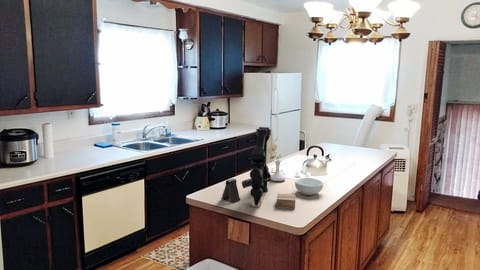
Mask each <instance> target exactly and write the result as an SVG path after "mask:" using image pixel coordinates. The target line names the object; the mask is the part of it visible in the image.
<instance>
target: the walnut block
mask: <svg viewBox="0 0 480 270" xmlns="http://www.w3.org/2000/svg"><path fill="white" fill-rule="evenodd" d="M276 195H277V196H276V205H275V206H276V208H278V209H279V208H280V209H291V210H295V209H296V194H294V193H293V194H292V193H290V194H289V193H279V192H278V193H277V194H276Z"/></svg>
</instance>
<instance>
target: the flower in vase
mask: <svg viewBox="0 0 480 270" xmlns="http://www.w3.org/2000/svg"><path fill="white" fill-rule="evenodd" d="M277 149H278V145H277V144H275V143H274V144H272V145H270V146H269V147H268V148H267V154H273V153H274V154H276V153H275V152H276V151H277ZM281 157H282V155H281V154H279V155H277V156H276V155H273V156H270V158H269V159H271V160H274V161H273V162H274V164H275V171H274V172H273V173H270V174H271V181H274V182H283V181H285V180H286V175H284V174H283V173H282V172H281V171H280V166H281V165H280V164H281V163H282V159H280V158H281Z"/></svg>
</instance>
